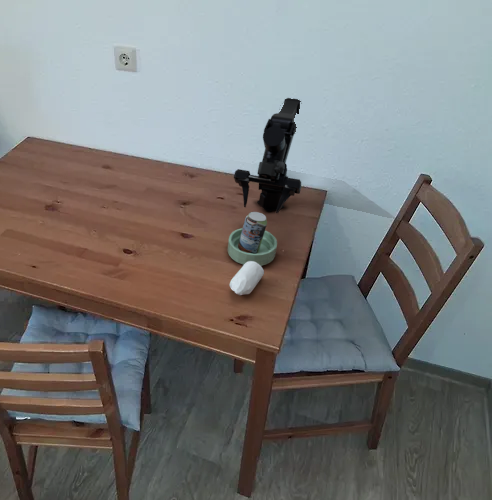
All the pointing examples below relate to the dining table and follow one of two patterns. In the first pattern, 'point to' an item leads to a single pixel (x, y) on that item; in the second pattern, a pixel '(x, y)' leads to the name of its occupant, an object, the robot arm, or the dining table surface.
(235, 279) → the roll
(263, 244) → the bowl
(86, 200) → the dining table surface
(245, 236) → the beverage can
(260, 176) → the robot arm
